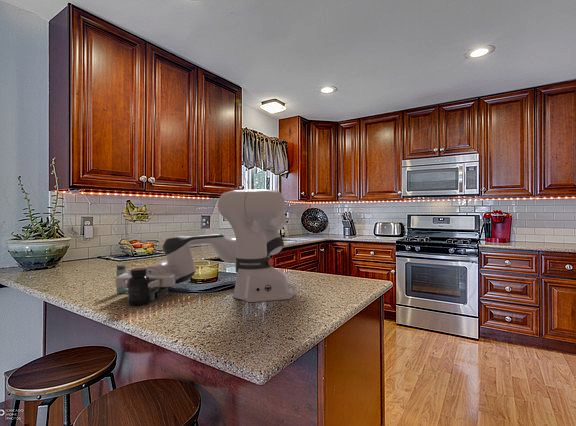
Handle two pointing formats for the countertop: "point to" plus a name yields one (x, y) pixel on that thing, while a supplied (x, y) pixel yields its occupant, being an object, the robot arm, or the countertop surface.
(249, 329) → the countertop surface
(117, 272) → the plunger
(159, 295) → the channel
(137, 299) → the supplement bottle
